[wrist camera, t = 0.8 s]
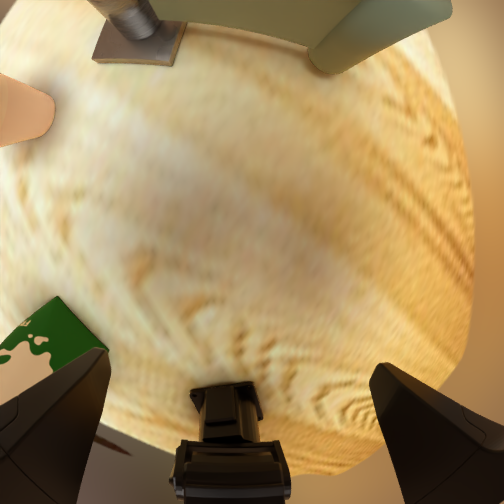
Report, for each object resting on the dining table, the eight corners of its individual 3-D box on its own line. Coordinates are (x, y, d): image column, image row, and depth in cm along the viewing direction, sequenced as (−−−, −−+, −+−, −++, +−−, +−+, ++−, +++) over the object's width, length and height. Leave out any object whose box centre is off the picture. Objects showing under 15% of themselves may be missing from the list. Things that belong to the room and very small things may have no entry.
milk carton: (55, 282, 20) (-78, 453, 1) (122, 353, 23) (61, 551, 4) (22, 323, 21) (-70, 457, 3) (79, 381, 24) (23, 529, 5)
